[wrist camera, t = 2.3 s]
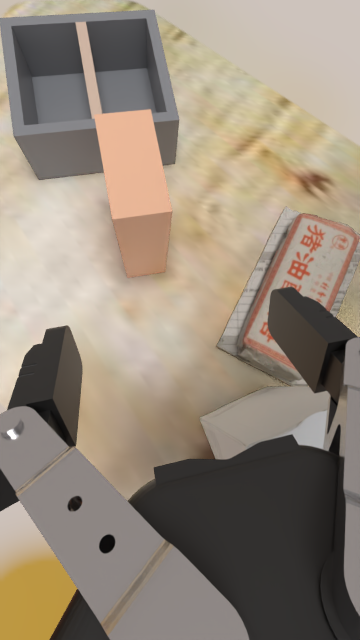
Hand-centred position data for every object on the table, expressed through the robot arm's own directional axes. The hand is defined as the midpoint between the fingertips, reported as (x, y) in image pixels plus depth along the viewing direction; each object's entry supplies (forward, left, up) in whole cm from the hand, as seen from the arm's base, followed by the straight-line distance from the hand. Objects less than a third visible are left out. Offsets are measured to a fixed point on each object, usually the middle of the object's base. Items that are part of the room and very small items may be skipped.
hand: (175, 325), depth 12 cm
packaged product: (-15, -4, -19) cm, 25 cm away
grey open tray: (+2, -28, -19) cm, 33 cm away
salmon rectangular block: (0, -13, -19) cm, 23 cm away
